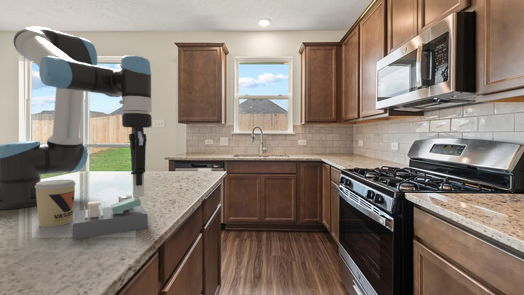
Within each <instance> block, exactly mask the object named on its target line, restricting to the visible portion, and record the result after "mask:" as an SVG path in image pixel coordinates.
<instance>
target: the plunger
mask: <svg viewBox="0 0 524 295" xmlns="http://www.w3.org/2000/svg"><path fill="white" fill-rule="evenodd" d="M130 198H133V195H120V196H119V197H118V202H121V201H124V200H127V199H130Z"/></svg>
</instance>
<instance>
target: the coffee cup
mask: <svg viewBox="0 0 524 295" xmlns="http://www.w3.org/2000/svg"><path fill="white" fill-rule="evenodd" d="M35 188H36V199H37V205H36V206H37V208H36V210H37V215H38V216H37V217H38V225H39V227H40V228H41V227H42V228H53V227H60V226H64V224H65V225H67V224H70V223H73V219H74V207H75V206H74V205H75V191H76V189H75V188H76V182H75V180H74V179H53V180H43V181H41V182H38V183H36V186H35Z"/></svg>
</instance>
